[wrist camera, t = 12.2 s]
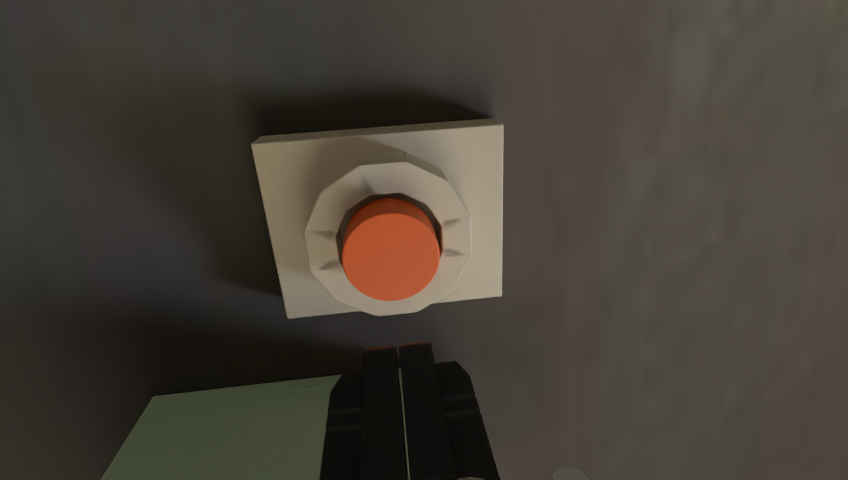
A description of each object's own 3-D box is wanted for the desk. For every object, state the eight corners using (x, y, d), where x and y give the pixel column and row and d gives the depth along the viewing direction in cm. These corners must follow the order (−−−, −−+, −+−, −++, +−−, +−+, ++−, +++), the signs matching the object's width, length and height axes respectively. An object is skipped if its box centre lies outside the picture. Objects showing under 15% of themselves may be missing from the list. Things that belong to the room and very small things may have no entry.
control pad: (493, 117, 20) (516, 131, 17) (493, 279, 23) (512, 317, 20) (260, 135, 19) (237, 153, 16) (293, 300, 22) (279, 342, 19)
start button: (431, 193, 18) (438, 207, 16) (436, 275, 19) (442, 296, 17) (338, 201, 17) (335, 217, 16) (350, 284, 19) (348, 306, 17)
